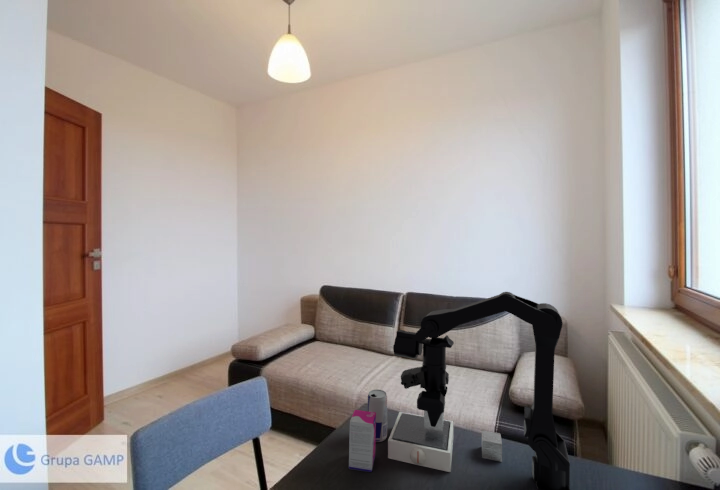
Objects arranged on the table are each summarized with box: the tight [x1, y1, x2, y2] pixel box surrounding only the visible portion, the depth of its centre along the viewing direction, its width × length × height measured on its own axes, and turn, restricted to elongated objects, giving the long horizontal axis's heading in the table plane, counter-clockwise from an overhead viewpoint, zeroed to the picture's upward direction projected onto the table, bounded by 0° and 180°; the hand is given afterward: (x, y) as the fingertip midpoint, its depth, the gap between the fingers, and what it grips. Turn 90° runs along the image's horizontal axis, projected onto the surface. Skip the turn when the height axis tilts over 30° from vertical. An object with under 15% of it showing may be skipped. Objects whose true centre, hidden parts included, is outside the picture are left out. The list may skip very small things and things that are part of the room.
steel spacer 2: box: [481, 430, 503, 463], centre depth 81 cm, size 4×4×4 cm
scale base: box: [387, 411, 454, 473], centre depth 84 cm, size 15×14×4 cm
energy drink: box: [367, 389, 388, 443], centre depth 88 cm, size 5×5×12 cm
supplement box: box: [348, 409, 377, 473], centre depth 78 cm, size 6×6×12 cm
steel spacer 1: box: [423, 410, 445, 432], centre depth 83 cm, size 4×4×4 cm
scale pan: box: [393, 412, 449, 451], centre depth 84 cm, size 13×12×1 cm
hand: (434, 421), depth 83 cm, fingers closed on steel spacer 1, 4 cm apart
